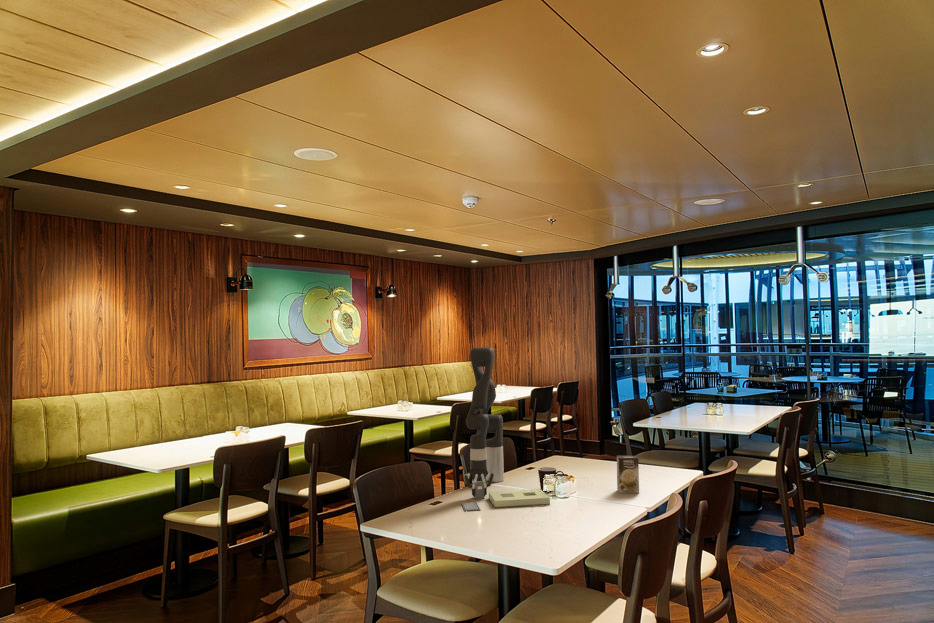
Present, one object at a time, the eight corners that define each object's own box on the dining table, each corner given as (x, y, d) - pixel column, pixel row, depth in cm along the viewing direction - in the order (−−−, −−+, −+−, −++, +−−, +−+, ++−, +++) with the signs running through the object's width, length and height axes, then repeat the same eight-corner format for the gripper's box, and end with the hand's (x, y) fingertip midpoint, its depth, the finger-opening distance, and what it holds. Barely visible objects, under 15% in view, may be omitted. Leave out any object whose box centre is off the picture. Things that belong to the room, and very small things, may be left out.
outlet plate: (488, 498, 271) (488, 491, 271) (540, 495, 274) (540, 488, 274) (495, 508, 255) (494, 500, 255) (550, 504, 258) (549, 497, 258)
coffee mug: (536, 492, 281) (536, 470, 281) (540, 487, 289) (540, 466, 289) (561, 493, 277) (560, 471, 277) (564, 489, 285) (564, 467, 286)
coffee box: (619, 493, 275) (618, 458, 276) (617, 490, 281) (615, 455, 282) (639, 493, 274) (638, 457, 275) (637, 490, 280) (636, 455, 281)
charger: (474, 497, 274) (474, 481, 274) (483, 496, 275) (482, 481, 275) (475, 499, 270) (475, 483, 270) (484, 498, 271) (484, 483, 271)
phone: (460, 504, 264) (460, 502, 264) (475, 503, 265) (475, 501, 265) (464, 513, 251) (464, 510, 251) (480, 512, 252) (480, 509, 252)
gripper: (492, 455, 278) (493, 493, 277) (461, 457, 276) (462, 495, 275) (495, 458, 271) (496, 497, 270) (463, 460, 269) (464, 499, 268)
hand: (479, 496), depth 272 cm, fingers closed on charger, 4 cm apart
